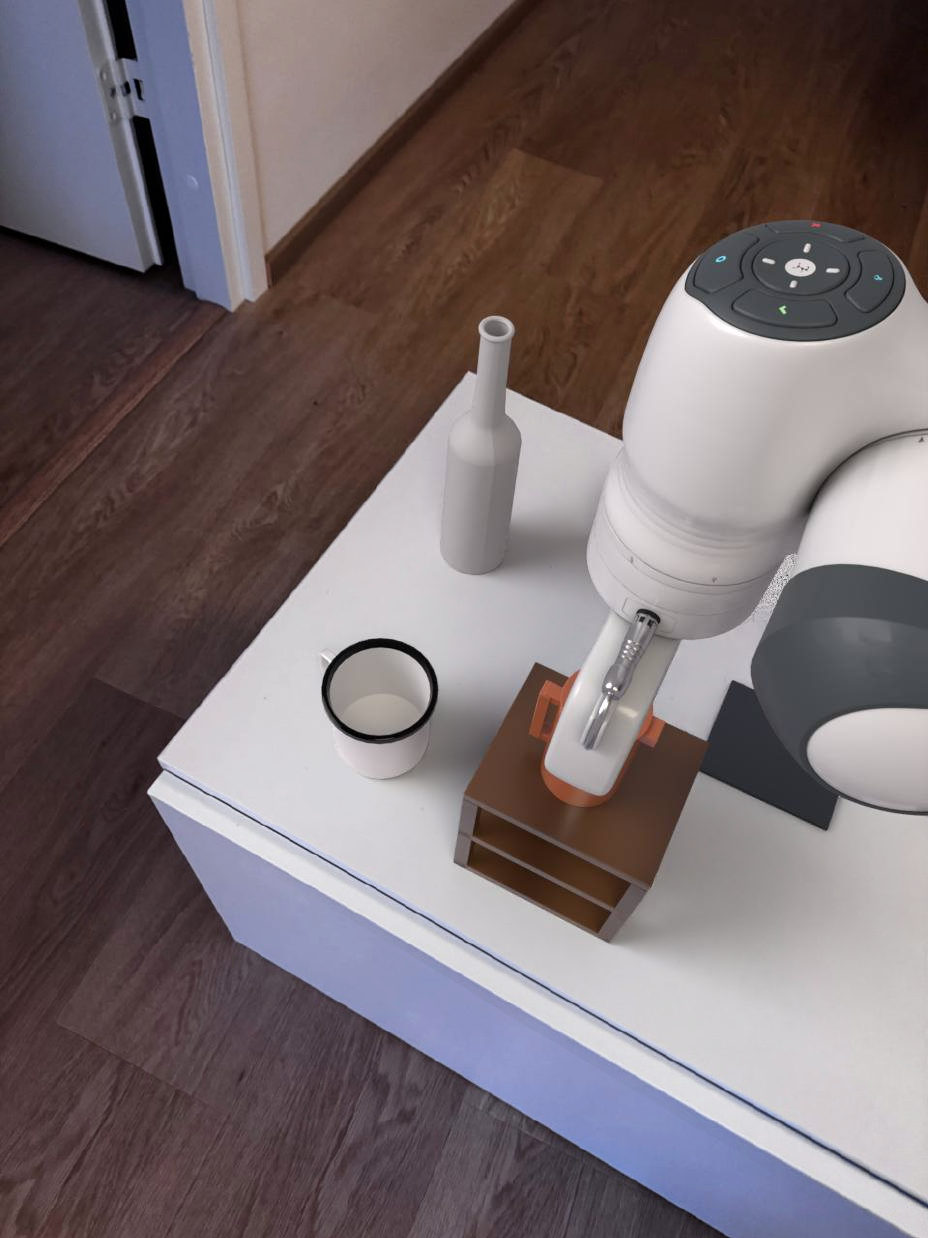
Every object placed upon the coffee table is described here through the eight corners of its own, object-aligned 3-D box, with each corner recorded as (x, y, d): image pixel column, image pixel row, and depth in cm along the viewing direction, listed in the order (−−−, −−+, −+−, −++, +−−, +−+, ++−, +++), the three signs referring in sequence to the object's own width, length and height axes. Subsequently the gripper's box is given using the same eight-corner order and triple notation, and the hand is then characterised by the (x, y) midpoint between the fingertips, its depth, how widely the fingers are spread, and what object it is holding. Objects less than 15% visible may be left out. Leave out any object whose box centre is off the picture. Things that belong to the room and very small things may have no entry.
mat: (855, 738, 88) (857, 735, 88) (826, 831, 83) (828, 829, 83) (730, 682, 90) (732, 679, 90) (695, 769, 86) (696, 767, 85)
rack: (662, 816, 83) (710, 742, 70) (609, 944, 77) (651, 887, 64) (515, 745, 86) (535, 661, 73) (452, 862, 80) (463, 793, 67)
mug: (457, 735, 86) (463, 687, 78) (380, 808, 82) (378, 764, 74) (363, 652, 90) (360, 598, 82) (285, 717, 86) (274, 667, 78)
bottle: (433, 526, 98) (445, 302, 74) (496, 516, 99) (527, 293, 76) (448, 579, 95) (465, 362, 71) (513, 568, 96) (551, 351, 72)
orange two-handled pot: (644, 758, 69) (678, 693, 61) (613, 827, 66) (645, 768, 58) (544, 710, 71) (564, 640, 62) (510, 775, 68) (526, 711, 60)
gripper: (668, 748, 41) (607, 856, 52) (805, 433, 51) (727, 582, 62) (532, 684, 42) (502, 803, 53) (692, 389, 52) (637, 543, 64)
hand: (624, 682), depth 58 cm, fingers open, 8 cm apart
